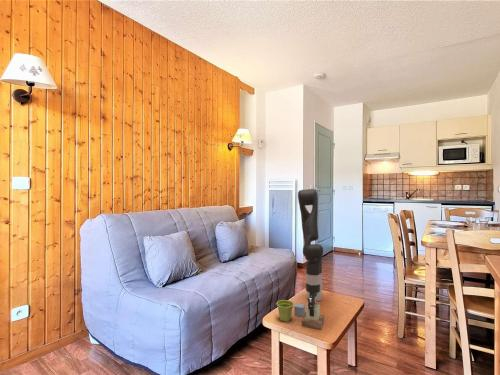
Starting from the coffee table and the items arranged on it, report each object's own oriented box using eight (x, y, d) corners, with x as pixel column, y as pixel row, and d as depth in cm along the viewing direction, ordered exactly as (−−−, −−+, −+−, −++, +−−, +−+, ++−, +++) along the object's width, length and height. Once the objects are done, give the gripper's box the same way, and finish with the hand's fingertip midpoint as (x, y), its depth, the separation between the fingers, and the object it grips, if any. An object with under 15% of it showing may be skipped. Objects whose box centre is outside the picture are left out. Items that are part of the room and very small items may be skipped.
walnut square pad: (305, 317, 155) (305, 311, 155) (324, 320, 152) (324, 315, 152) (301, 326, 146) (301, 319, 146) (321, 329, 142) (321, 323, 142)
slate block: (296, 311, 163) (296, 303, 163) (304, 313, 161) (304, 304, 161) (294, 315, 158) (294, 306, 158) (303, 316, 156) (303, 308, 156)
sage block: (308, 313, 153) (308, 302, 153) (319, 316, 150) (319, 304, 150) (306, 318, 147) (306, 307, 147) (317, 320, 145) (317, 309, 145)
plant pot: (279, 324, 148) (279, 307, 148) (274, 316, 158) (274, 300, 157) (296, 322, 150) (296, 306, 150) (290, 314, 159) (290, 299, 159)
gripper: (308, 276, 157) (308, 306, 157) (302, 285, 144) (302, 318, 144) (322, 278, 154) (322, 309, 154) (317, 287, 141) (317, 320, 141)
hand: (312, 313), depth 149 cm, fingers open, 6 cm apart
